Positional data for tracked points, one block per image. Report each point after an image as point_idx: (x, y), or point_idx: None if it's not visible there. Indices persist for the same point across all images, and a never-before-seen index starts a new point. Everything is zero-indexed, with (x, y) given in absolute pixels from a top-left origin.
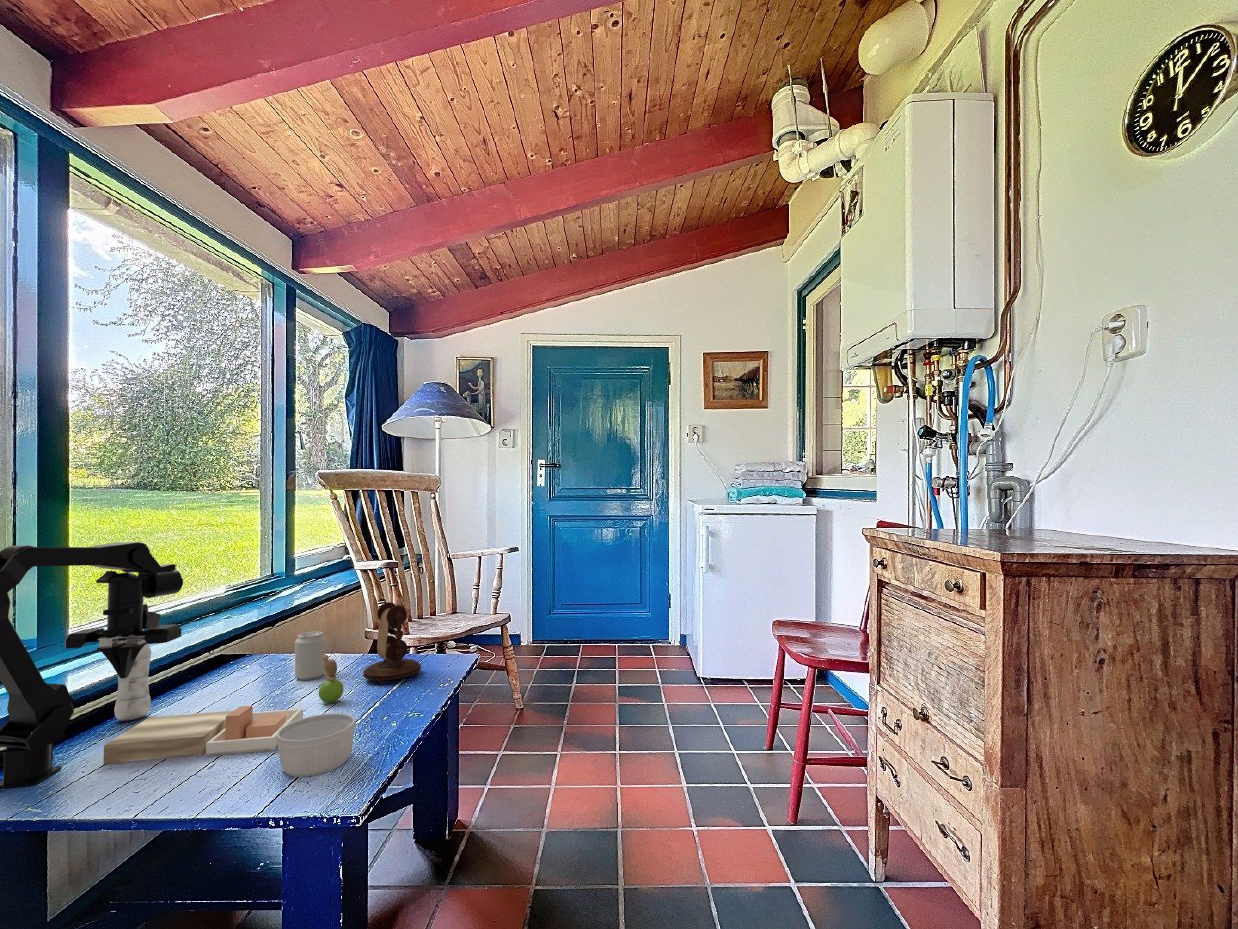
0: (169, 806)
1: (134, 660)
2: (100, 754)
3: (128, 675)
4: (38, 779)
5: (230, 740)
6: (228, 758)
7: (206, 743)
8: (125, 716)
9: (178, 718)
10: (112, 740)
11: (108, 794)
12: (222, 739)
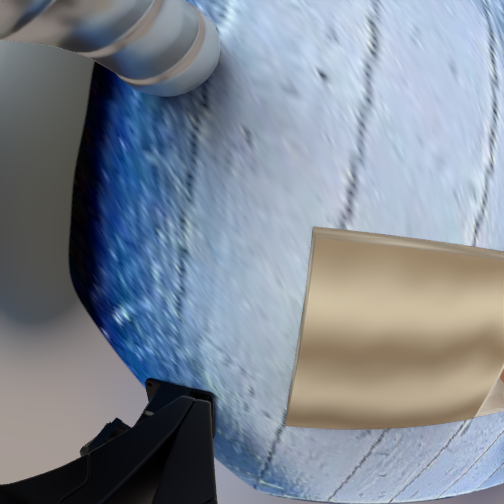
0: (418, 491)
1: (214, 501)
2: (248, 341)
3: (210, 408)
4: (212, 433)
5: (502, 409)
6: None
7: None
8: (171, 95)
9: (421, 287)
10: (292, 409)
11: (348, 477)
12: None
